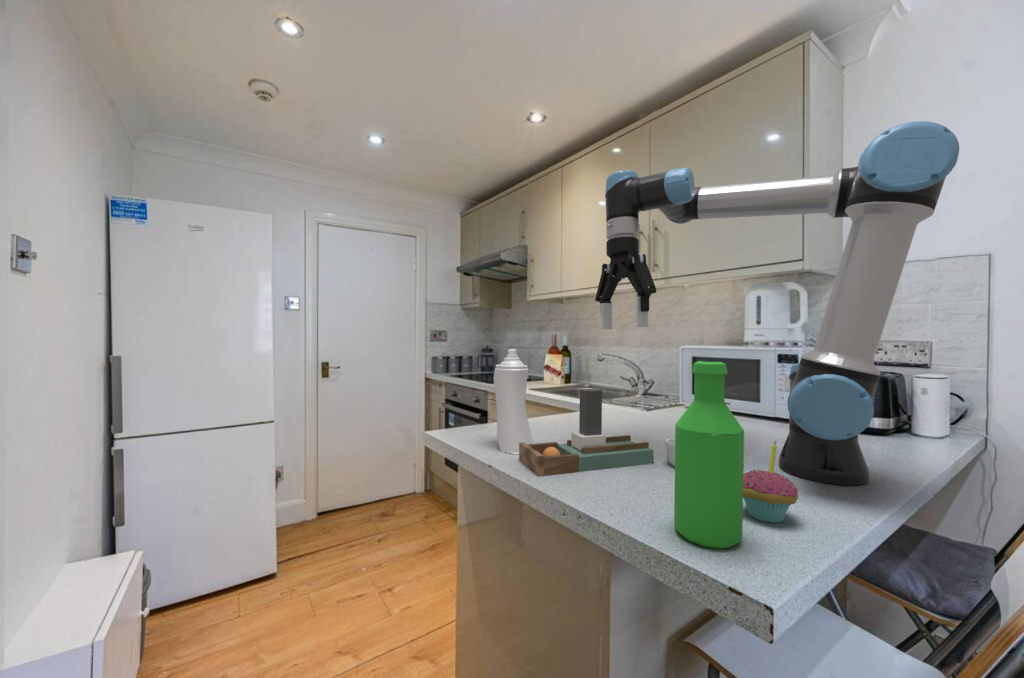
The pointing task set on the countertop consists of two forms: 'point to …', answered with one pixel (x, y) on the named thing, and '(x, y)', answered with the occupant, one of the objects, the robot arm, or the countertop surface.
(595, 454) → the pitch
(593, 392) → the block
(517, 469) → the countertop surface
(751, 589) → the countertop surface
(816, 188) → the robot arm
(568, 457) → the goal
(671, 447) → the teacup
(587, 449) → the rails
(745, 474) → the cupcake
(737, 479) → the bottle
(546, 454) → the ball
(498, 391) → the spray can
